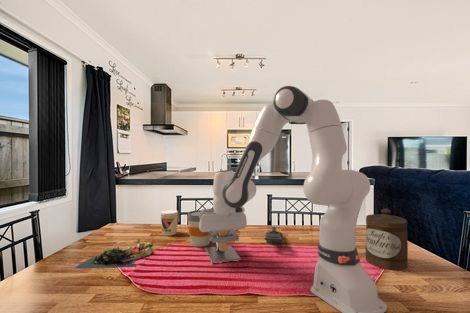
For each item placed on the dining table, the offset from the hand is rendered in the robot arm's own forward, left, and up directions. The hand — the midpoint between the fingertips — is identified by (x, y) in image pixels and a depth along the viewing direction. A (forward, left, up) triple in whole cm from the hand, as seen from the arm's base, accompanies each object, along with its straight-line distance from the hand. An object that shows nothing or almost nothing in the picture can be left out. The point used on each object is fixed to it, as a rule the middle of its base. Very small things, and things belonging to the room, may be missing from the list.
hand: (222, 240), depth 110 cm
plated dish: (+12, +41, -8) cm, 43 cm away
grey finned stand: (+2, 0, -7) cm, 8 cm away
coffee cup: (+39, +21, -8) cm, 45 cm away
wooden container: (-23, -63, -8) cm, 68 cm away
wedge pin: (0, 0, -4) cm, 4 cm away
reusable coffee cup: (+19, +7, -8) cm, 22 cm away
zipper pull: (+9, -28, -8) cm, 31 cm away
